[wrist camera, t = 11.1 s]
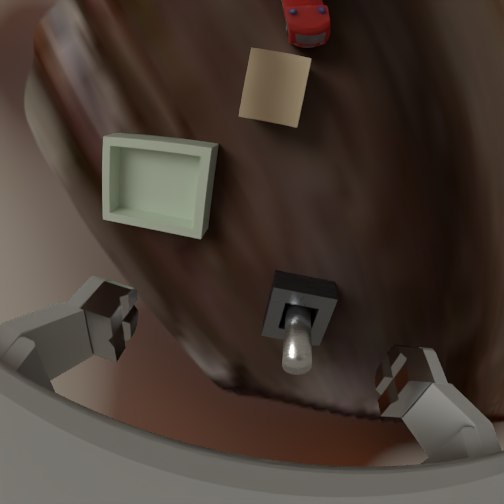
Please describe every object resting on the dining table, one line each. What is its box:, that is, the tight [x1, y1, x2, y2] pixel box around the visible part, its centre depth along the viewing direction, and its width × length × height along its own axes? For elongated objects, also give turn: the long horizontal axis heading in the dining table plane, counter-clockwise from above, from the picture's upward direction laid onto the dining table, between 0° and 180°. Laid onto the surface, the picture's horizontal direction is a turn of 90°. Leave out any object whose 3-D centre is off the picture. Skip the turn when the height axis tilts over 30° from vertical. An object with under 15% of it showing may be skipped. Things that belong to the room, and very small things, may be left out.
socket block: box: [261, 270, 338, 346], centre depth 30 cm, size 6×6×3 cm
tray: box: [102, 133, 219, 239], centre depth 26 cm, size 10×8×2 cm
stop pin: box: [282, 303, 312, 375], centre depth 28 cm, size 2×2×9 cm
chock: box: [239, 48, 311, 128], centre depth 21 cm, size 4×5×5 cm
